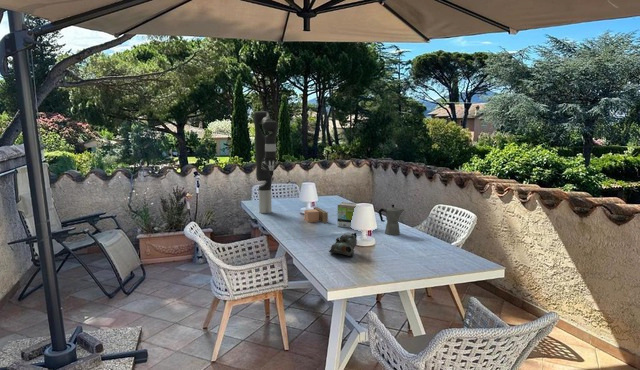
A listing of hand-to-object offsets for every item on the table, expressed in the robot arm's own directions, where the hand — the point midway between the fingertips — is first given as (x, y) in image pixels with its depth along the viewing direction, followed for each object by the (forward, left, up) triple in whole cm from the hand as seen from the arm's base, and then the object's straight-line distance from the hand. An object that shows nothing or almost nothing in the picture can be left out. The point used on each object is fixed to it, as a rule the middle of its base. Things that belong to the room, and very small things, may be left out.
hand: (271, 176), depth 292 cm
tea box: (+34, +44, -31) cm, 64 cm away
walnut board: (+10, +32, -31) cm, 46 cm away
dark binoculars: (+88, +15, -31) cm, 94 cm away
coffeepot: (+60, +59, -31) cm, 90 cm away
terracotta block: (+10, +26, -31) cm, 42 cm away
